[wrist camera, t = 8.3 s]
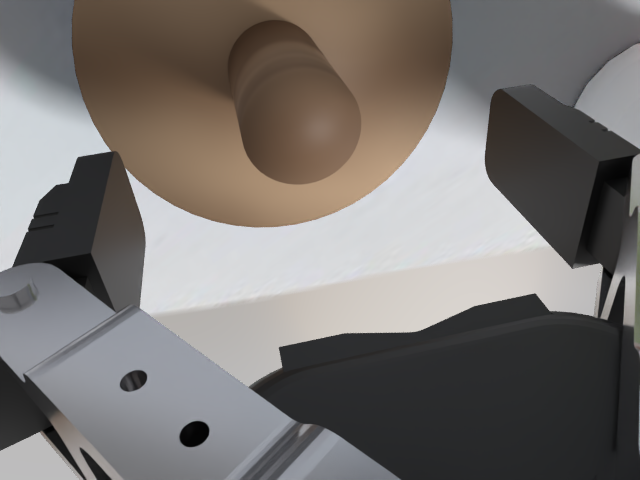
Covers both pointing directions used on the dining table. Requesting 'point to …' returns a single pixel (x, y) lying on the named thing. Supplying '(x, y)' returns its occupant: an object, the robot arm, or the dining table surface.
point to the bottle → (616, 96)
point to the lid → (262, 97)
